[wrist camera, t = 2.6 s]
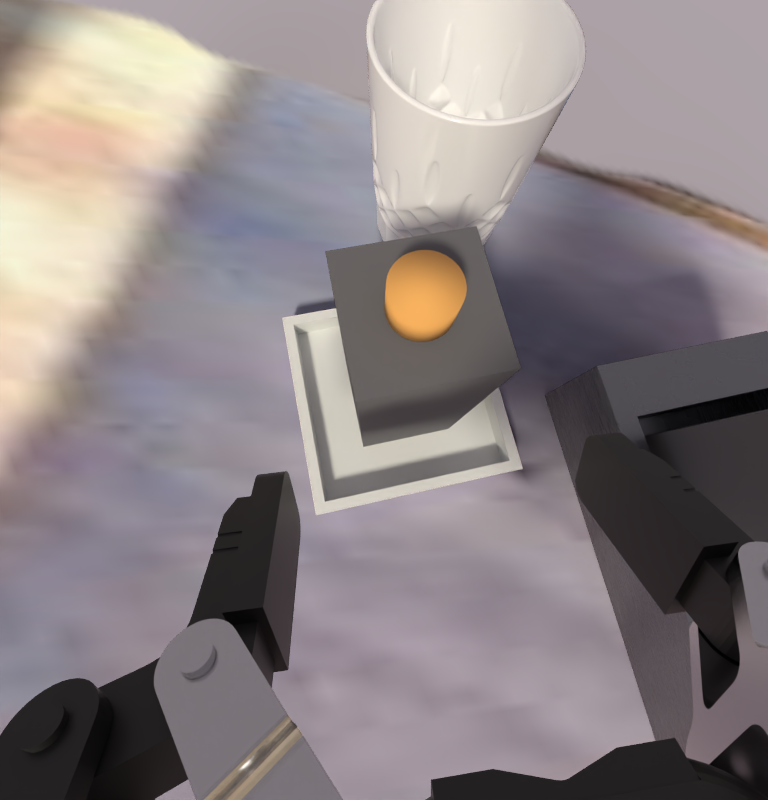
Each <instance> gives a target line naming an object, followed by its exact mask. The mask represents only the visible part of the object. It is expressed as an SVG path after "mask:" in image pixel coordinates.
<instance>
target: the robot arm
mask: <svg viewBox="0 0 768 800" xmlns="http://www.w3.org/2000/svg"><path fill="white" fill-rule="evenodd" d="M575 484H576V490H577V493H578V496H579V498H580V500H581V501H582V503H583V504H584V505H585V507H586V508H587V509H588V511H589V512H590V514H591V515H592V516H593V518H594V519H595V520H596V522H597V523H598V524H599V526H600V527H601V529H602V530H603V531H604V533H605V534H606V535H607V537H608V538H609V539H610V541H611V542H612V544H613V545H614V546H615V548H616V549H617V550H618V552H619V553H620V554H621V556H622V557H623V559H624V560H625V561H626V563H627V564H628V565H629V567H630V568H631V569H632V571H633V572H634V574H635V575H636V576H637V578H638V579H639V580H640V582H641V583H642V584H643V586H644V587H645V589H646V590H647V591H648V593H649V594H650V595H651V597H652V598H653V599H654V601H655V602H656V604H657V605H658V606H659V608H660V609H661V610H662V612H663V613H664V614H665V615H667V614H673V613H680V612H687V613H688V614H689V616H690V617H691V618H692V619H693V621H692V623H691V625H690V627H689V637H690V656H691V675H692V694H693V720H692V725H691V729H690V732H689V735H688V739H687V744H686V753H685V754H684V752H683V750H682V749H681V747H680V745H679V744H678V742H677V740H676V739H675V738H671V739H665V740H659V741H653V742H647V743H642V744H636V745H630V746H624V747H618V748H616V749H614V750H613V751H611V752H609V753H608V754H606V755H605V756H603V757H602V758H600V759H599V760H597V761H595V762H594V763H592V764H591V765H589V766H588V767H586V768H585V769H583V770H581V771H580V772H578V773H577V774H575V775H574V776H572V777H571V778H569V779H567V780H562V781H559V780H552V779H546V778H540V777H535V776H529V775H523V774H518V773H512V772H506V771H500V770H495V769H491V770H485V771H479V772H473V773H468V774H462V775H456V776H450V777H444V778H439V779H433V780H431V797H429V798H428V799H426V800H768V543H767V542H755V541H754V540H753V539H752V538H750V537H749V536H748V535H747V534H746V533H745V532H744V531H743V530H741V529H740V528H739V527H738V526H737V525H736V524H735V523H734V522H733V521H731V520H730V519H729V518H728V517H727V516H726V515H725V514H724V513H723V512H721V511H720V510H719V509H718V508H717V507H716V506H715V505H714V504H712V503H711V502H710V501H709V500H708V499H707V498H706V497H705V496H704V495H702V494H701V493H700V492H699V491H696V490H695V487H694V486H692V485H691V484H690V483H689V482H688V481H687V480H686V479H685V478H684V479H682V478H681V475H680V474H679V473H678V472H677V471H676V470H675V469H673V468H672V467H671V466H670V465H669V464H668V463H667V462H666V461H665V460H663V459H661V458H659V457H657V456H655V455H654V454H652V453H650V452H648V451H646V450H644V449H639V448H638V447H637V446H636V445H635V444H634V443H633V442H632V441H631V440H630V439H628V438H627V437H626V436H625V435H624V434H622V433H619V432H616V433H608V434H599V435H591V436H589V437H588V438H587V439H586V441H585V444H584V448H583V452H582V456H581V459H580V463H579V467H578V471H577V474H576V479H575ZM299 545H300V517H299V512H298V508H297V504H296V500H295V496H294V492H293V488H292V484H291V480H290V477H289V474H288V472H287V471H285V472H277V473H269V474H260V475H257V476H256V479H255V482H254V486H253V490H252V494H251V496H250V497H242V498H237V499H236V500H235V501H234V503H233V504H232V505H231V507H230V508H229V509H228V510H227V512H226V513H225V514H224V516H223V519H222V522H221V525H220V528H219V532H218V538H216V541H215V544H214V548H213V554H211V557H210V560H209V563H208V567H207V570H206V573H205V576H204V579H203V583H202V586H201V589H200V592H199V595H198V598H197V602H196V605H195V608H194V611H193V614H192V617H191V620H190V622H189V624H188V626H187V628H186V629H184V630H183V631H182V632H180V633H179V634H178V635H177V636H176V637H175V638H174V639H173V640H172V641H171V642H170V643H169V644H168V646H167V647H166V648H165V650H164V651H163V653H162V655H161V657H159V658H158V659H156V660H155V661H153V662H152V663H150V664H148V665H146V666H144V667H142V668H140V669H138V670H136V671H134V672H132V673H129V674H127V675H125V676H123V677H121V678H119V679H117V680H114V681H112V682H110V683H108V684H106V685H104V686H102V687H100V688H97V687H96V686H95V685H94V684H93V683H92V682H90V681H89V680H86V679H80V678H76V679H69V680H65V681H62V682H60V683H57V684H55V685H53V686H51V687H49V688H47V689H46V690H44V691H43V692H41V693H40V694H38V695H37V696H35V697H34V698H33V699H32V700H31V701H29V702H28V703H27V704H26V705H25V706H24V707H23V708H22V709H21V710H20V711H19V712H18V713H17V714H16V715H15V716H14V717H13V719H12V720H11V721H10V722H9V724H8V725H7V726H6V728H5V729H4V730H3V732H2V734H1V735H0V800H155V798H157V797H159V796H160V795H162V794H164V793H165V792H167V791H169V790H171V789H172V788H174V787H176V786H177V785H179V784H181V783H183V782H184V781H186V780H188V779H189V782H190V785H191V787H192V790H193V793H194V795H195V798H196V800H343V799H342V798H341V796H340V794H339V793H338V791H337V789H336V788H335V786H334V785H333V783H332V781H331V780H330V778H329V776H328V775H327V773H326V772H325V770H324V768H323V767H322V765H321V764H320V762H319V760H318V759H317V757H316V755H315V754H314V752H313V751H312V749H311V747H310V746H309V744H308V742H307V741H306V739H305V738H304V736H303V735H302V733H301V732H300V730H299V729H298V727H297V726H296V725H295V723H293V722H292V720H291V719H290V717H289V716H288V714H287V713H286V711H285V709H284V708H283V706H282V705H281V703H280V701H279V700H278V698H277V696H276V695H275V693H274V691H273V690H272V680H273V672H278V671H285V670H288V666H289V655H290V644H291V633H292V622H293V611H294V600H295V589H296V578H297V567H298V556H299Z"/></svg>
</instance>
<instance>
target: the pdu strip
mask: <svg viewBox="0 0 768 800" xmlns="http://www.w3.org/2000/svg"><path fill="white" fill-rule="evenodd" d="M545 397H546V400H547V403H548V407H549V410H550V413H551V416H552V419H553V422H554V425H555V428H556V431H557V435H558V438H559V441H560V444H561V447H562V450H563V453H564V456H565V459H566V463H567V466H568V469H569V472H570V475H571V478H572V481H573V484H574V487H575V491H576V494H577V497H578V500H579V503H580V506H581V509H582V512H583V516H584V519H585V522H586V525H587V528H588V531H589V534H590V537H591V540H592V544H593V547H594V550H595V553H596V556H597V559H598V562H599V565H600V568H601V572H602V575H603V578H604V581H605V584H606V587H607V590H608V593H609V596H610V600H611V603H612V606H613V609H614V612H615V615H616V618H617V621H618V625H619V628H620V631H621V634H622V637H623V640H624V643H625V646H626V649H627V653H628V656H629V659H630V662H631V665H632V668H633V671H634V674H635V677H636V681H637V684H638V687H639V690H640V693H641V696H642V699H643V702H644V705H645V709H646V712H647V715H648V718H649V721H650V724H651V727H652V730H653V733H654V737H655V740H656V741H659V740H665V739H671V738H675V739H676V740H677V742H678V744H679V745H680V747H681V749H682V750H683V752H684V754H685V753H686V744H687V739H688V735H689V732H690V729H691V725H692V720H693V694H692V675H691V656H690V637H689V627H690V625H691V623H692V621H693V619H692V618H691V617H690V616H689V614H688V613H687V612H680V613H673V614H667V615H665V614H664V613H663V612H662V610H661V609H660V608H659V606H658V605H657V604H656V602H655V601H654V599H653V598H652V597H651V595H650V594H649V593H648V591H647V590H646V589H645V587H644V586H643V584H642V583H641V582H640V580H639V579H638V578H637V576H636V575H635V574H634V572H633V571H632V569H631V568H630V567H629V565H628V564H627V563H626V561H625V560H624V559H623V557H622V556H621V554H620V553H619V552H618V550H617V549H616V548H615V546H614V545H613V544H612V542H611V541H610V539H609V538H608V537H607V535H606V534H605V533H604V531H603V530H602V529H601V527H600V526H599V524H598V523H597V522H596V520H595V519H594V518H593V516H592V515H591V514H590V512H589V511H588V509H587V508H586V507H585V505H584V504H583V503H582V501H581V500H580V498H579V496H578V493H577V490H576V484H575V479H576V474H577V471H578V467H579V463H580V459H581V456H582V452H583V448H584V444H585V441H586V439H587V438H588V437H589V436H591V435H599V434H608V433H616V432H619V433H622V434H624V435H625V436H626V437H627V438H628V439H630V440H631V441H632V442H633V443H634V444H635V445H636V446H637V447H638V448H639V449H644V450H646V451H648V452H650V450H649V447H648V444H647V442H646V439H645V436H646V435H650V434H655V433H659V432H664V431H668V430H673V429H677V428H682V427H686V426H691V425H695V424H700V423H705V422H710V421H714V420H719V419H724V418H728V417H733V416H738V415H742V414H747V413H752V412H757V411H761V410H766V409H768V332H767V331H764V332H760V333H755V334H750V335H745V336H740V337H735V338H730V339H725V340H721V341H716V342H711V343H706V344H701V345H696V346H691V347H687V348H682V349H677V350H672V351H667V352H662V353H657V354H652V355H648V356H643V357H638V358H633V359H628V360H623V361H618V362H614V363H609V364H604V365H599V366H596V367H594V368H592V369H591V370H589V371H587V372H585V373H583V374H582V375H580V376H578V377H576V378H575V379H573V380H571V381H569V382H568V383H566V384H564V385H562V386H560V387H559V388H557V389H555V390H553V391H552V392H550V393H548V394H546V395H545ZM650 453H651V452H650Z"/></svg>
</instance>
